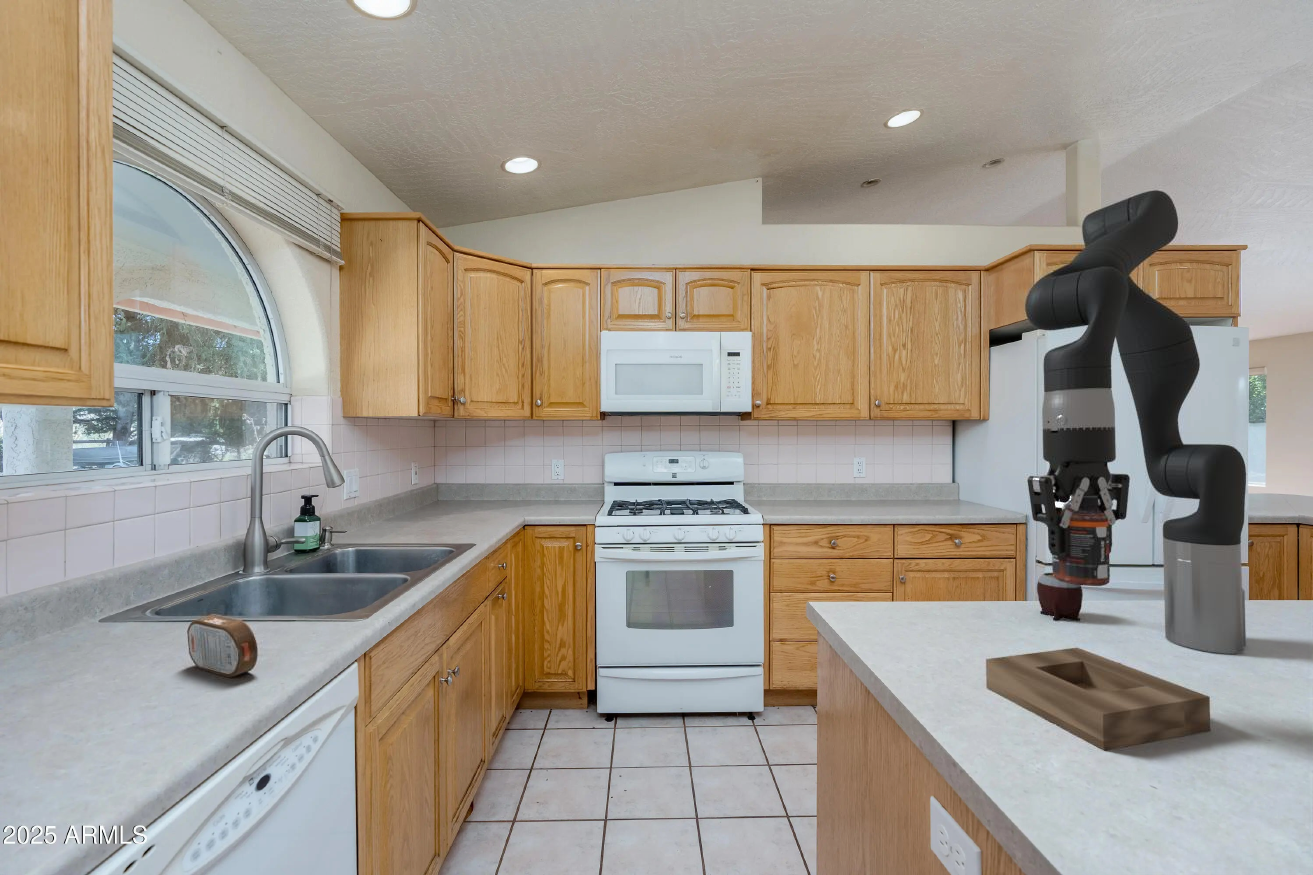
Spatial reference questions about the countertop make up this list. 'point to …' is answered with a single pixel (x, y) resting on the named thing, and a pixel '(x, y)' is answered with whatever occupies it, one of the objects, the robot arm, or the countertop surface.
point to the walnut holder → (1098, 697)
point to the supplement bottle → (1085, 547)
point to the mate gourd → (1059, 598)
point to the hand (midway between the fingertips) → (1080, 553)
